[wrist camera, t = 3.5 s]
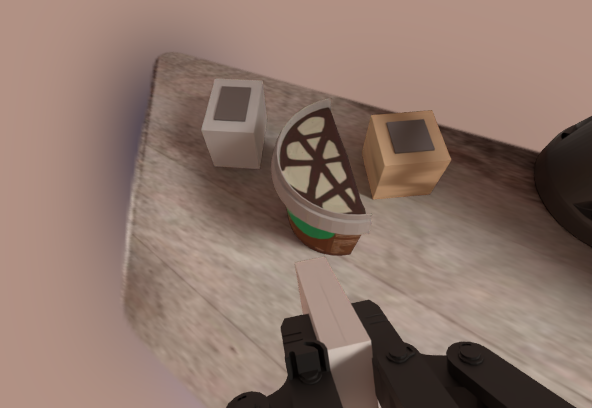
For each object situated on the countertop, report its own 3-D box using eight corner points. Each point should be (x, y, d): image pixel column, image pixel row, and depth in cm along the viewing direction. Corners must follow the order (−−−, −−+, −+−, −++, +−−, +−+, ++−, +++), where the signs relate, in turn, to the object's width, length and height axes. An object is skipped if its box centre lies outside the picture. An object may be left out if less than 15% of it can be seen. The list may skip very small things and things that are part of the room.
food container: (267, 172, 38) (257, 104, 29) (322, 162, 39) (329, 93, 30) (289, 282, 32) (285, 238, 23) (354, 269, 33) (374, 221, 24)
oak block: (414, 148, 40) (432, 108, 34) (429, 194, 37) (452, 158, 31) (361, 153, 39) (371, 113, 34) (372, 199, 36) (385, 164, 31)
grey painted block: (267, 120, 42) (262, 79, 36) (260, 169, 38) (253, 131, 33) (225, 118, 42) (214, 76, 37) (214, 166, 39) (200, 128, 33)
